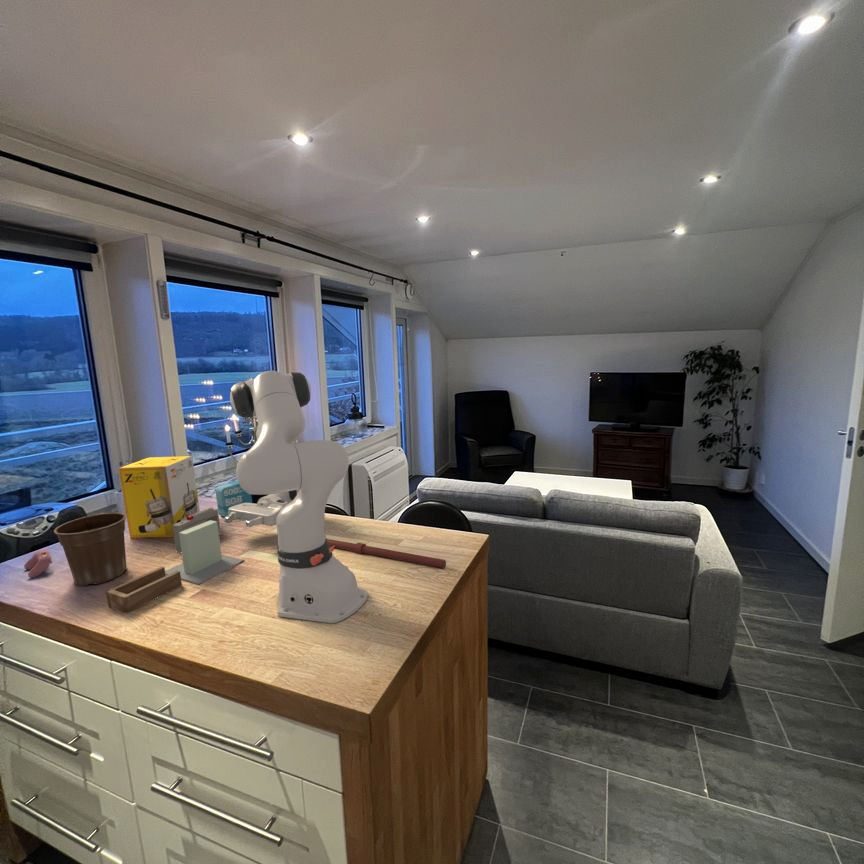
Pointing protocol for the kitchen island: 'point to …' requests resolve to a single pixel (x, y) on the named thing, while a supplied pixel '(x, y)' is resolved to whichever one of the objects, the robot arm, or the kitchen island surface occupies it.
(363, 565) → the kitchen island surface
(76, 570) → the plant pot
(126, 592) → the walnut box
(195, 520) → the cassette player
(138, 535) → the packaging box
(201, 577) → the grey rubber mat
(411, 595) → the kitchen island surface
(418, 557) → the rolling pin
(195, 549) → the cover plate
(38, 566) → the pink lobed lump
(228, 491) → the teal lettered box
